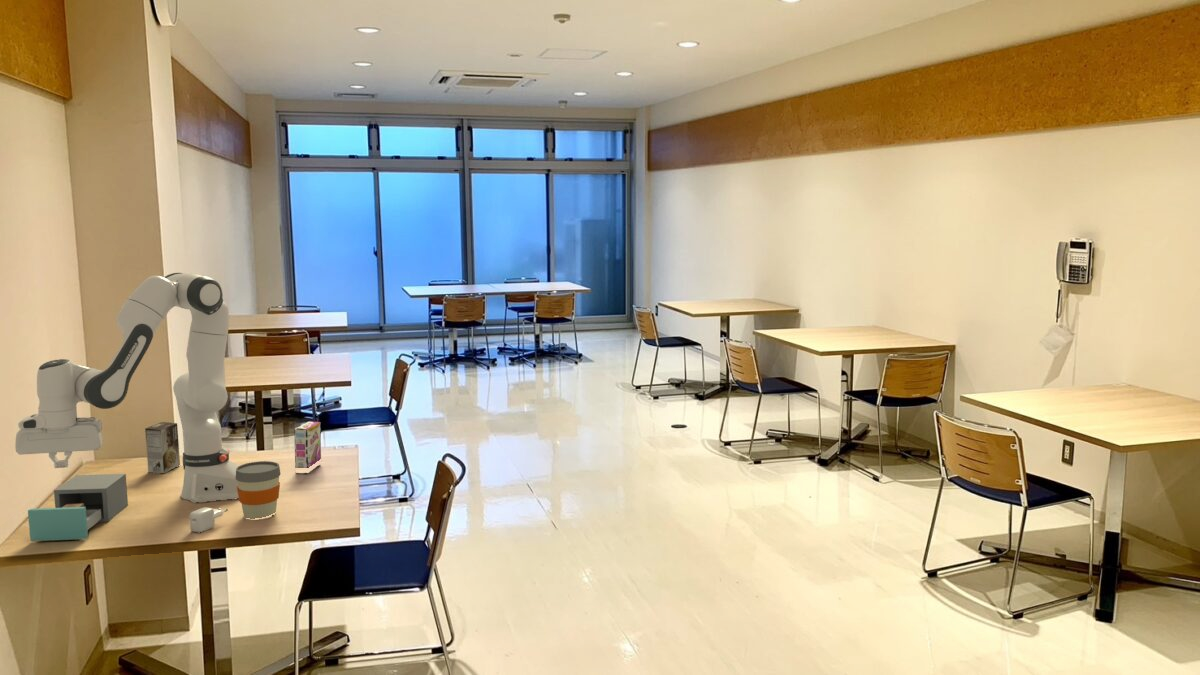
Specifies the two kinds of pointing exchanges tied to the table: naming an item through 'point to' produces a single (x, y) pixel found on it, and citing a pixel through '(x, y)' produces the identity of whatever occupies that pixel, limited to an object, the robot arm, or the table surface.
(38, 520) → the teal drawer
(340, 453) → the table surface
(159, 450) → the coffee box
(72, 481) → the gray drawer box
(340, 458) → the table surface
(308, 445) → the candy bar box
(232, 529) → the table surface
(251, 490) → the reusable coffee cup
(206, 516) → the power adapter
